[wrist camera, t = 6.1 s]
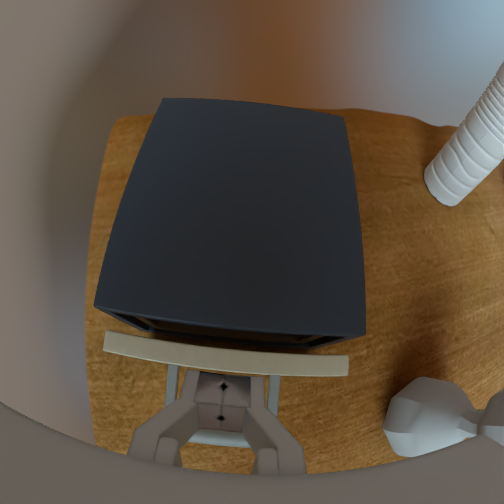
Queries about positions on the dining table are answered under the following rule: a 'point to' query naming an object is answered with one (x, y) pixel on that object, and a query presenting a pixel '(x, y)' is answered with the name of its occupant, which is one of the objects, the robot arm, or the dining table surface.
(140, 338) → the drawer
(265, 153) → the cabinet
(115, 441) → the dining table surface
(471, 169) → the water bottle
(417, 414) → the gourd bottle
